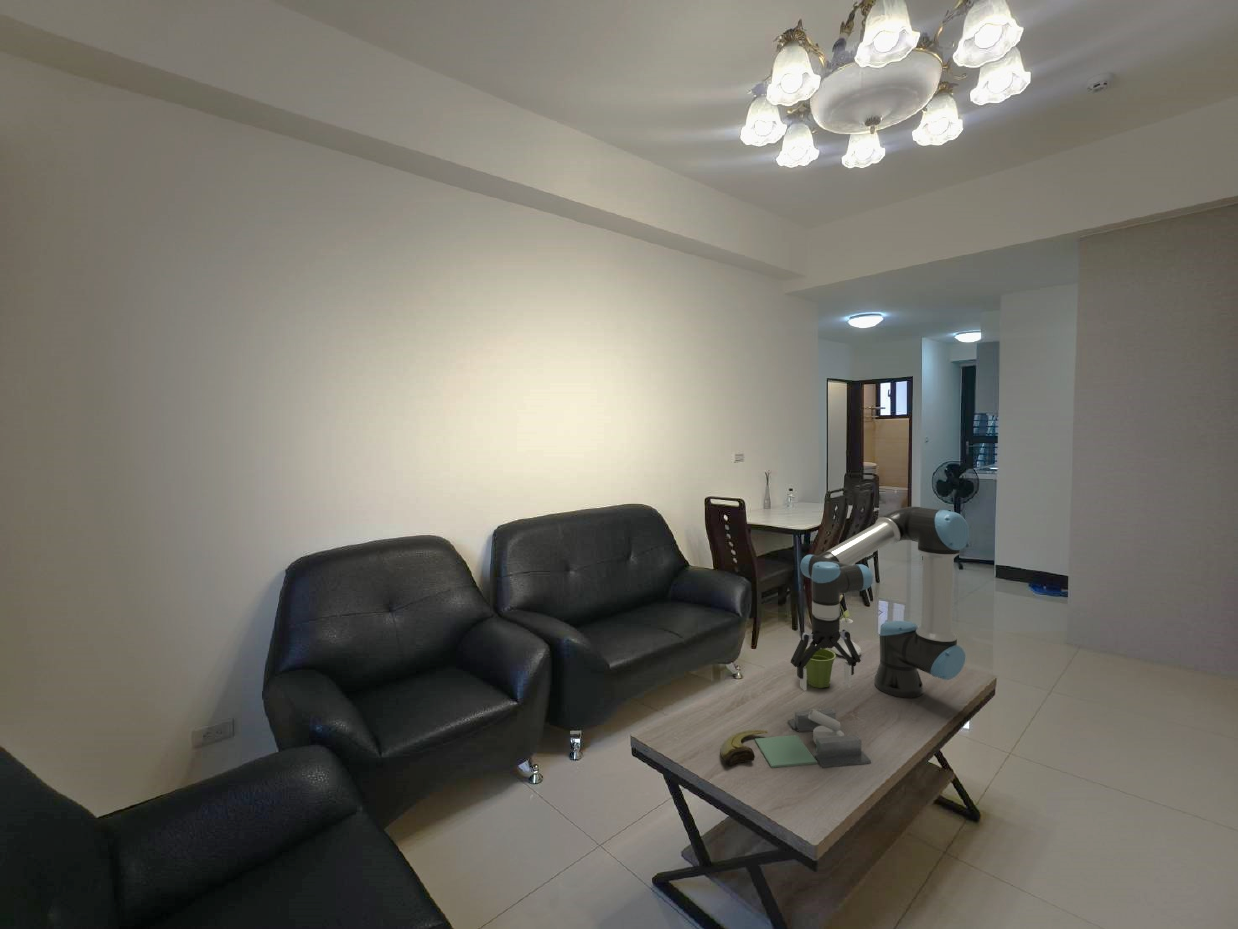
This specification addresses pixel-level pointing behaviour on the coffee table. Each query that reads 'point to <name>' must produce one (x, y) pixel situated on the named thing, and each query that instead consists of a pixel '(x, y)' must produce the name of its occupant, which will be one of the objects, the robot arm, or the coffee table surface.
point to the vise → (831, 743)
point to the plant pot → (820, 668)
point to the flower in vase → (846, 626)
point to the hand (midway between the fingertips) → (825, 687)
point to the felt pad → (785, 751)
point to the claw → (738, 748)
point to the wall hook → (824, 725)
